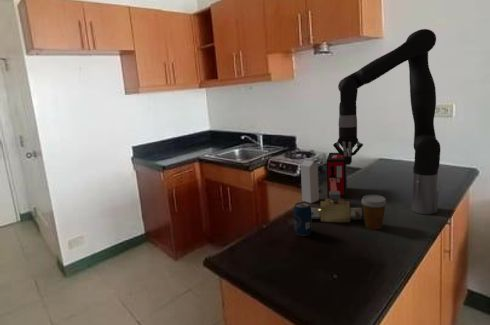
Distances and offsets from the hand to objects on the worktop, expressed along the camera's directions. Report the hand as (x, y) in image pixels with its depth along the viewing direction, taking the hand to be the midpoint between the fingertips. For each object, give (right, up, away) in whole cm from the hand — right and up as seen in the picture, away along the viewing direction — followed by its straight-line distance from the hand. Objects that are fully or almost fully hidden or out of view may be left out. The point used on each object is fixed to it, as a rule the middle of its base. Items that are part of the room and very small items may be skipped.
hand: (348, 164), depth 148 cm
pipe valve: (-8, -24, -2) cm, 25 cm away
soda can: (-22, -28, -12) cm, 37 cm away
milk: (-12, -19, +22) cm, 32 cm away
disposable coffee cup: (+7, -25, -12) cm, 29 cm away
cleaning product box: (+4, -15, +30) cm, 34 cm away
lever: (-6, -13, +2) cm, 15 cm away
